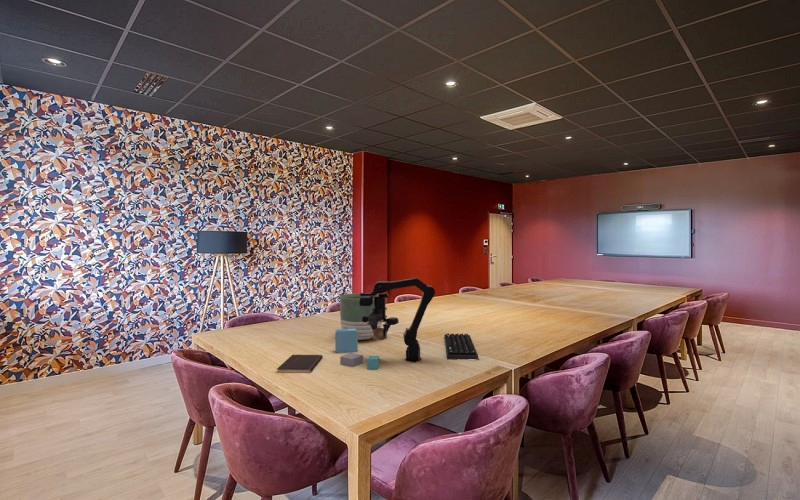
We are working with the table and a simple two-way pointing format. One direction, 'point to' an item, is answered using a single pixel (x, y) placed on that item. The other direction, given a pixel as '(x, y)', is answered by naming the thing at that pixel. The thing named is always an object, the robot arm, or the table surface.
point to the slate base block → (351, 359)
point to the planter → (356, 315)
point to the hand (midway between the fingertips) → (380, 336)
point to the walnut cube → (379, 334)
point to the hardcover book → (300, 363)
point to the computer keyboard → (459, 347)
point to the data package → (346, 340)
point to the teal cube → (373, 362)
